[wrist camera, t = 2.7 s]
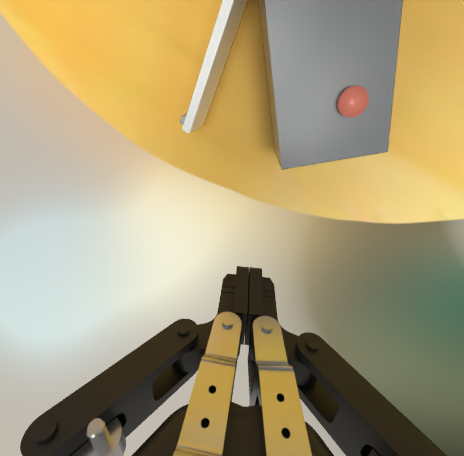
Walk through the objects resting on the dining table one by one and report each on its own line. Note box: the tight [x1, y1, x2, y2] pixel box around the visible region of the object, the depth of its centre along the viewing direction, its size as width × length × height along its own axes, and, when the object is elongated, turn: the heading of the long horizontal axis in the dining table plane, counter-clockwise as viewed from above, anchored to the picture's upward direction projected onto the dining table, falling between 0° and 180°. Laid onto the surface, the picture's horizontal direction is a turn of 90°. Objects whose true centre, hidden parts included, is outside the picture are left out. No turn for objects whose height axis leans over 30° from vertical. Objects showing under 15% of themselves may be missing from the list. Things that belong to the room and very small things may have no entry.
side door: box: [180, 0, 248, 133], centre depth 24 cm, size 15×2×8 cm, turn 156°
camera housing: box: [258, 0, 403, 170], centre depth 23 cm, size 20×10×10 cm, turn 11°
